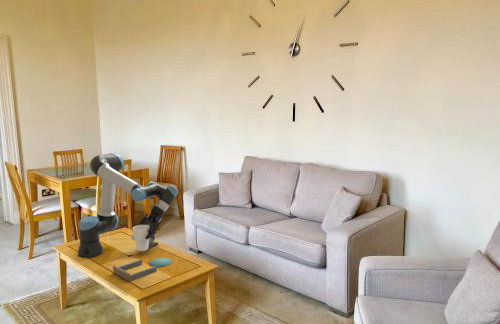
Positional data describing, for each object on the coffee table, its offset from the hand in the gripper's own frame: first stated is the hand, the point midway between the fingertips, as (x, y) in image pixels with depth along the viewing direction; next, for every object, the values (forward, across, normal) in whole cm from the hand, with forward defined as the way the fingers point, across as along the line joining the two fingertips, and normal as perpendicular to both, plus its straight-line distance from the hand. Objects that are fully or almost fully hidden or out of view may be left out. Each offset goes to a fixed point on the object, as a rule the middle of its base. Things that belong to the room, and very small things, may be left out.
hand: (137, 241), depth 215 cm
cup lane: (+14, +1, -12) cm, 18 cm away
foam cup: (+2, 0, -6) cm, 6 cm away
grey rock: (-4, +28, -30) cm, 42 cm away
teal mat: (+2, +1, -24) cm, 24 cm away
